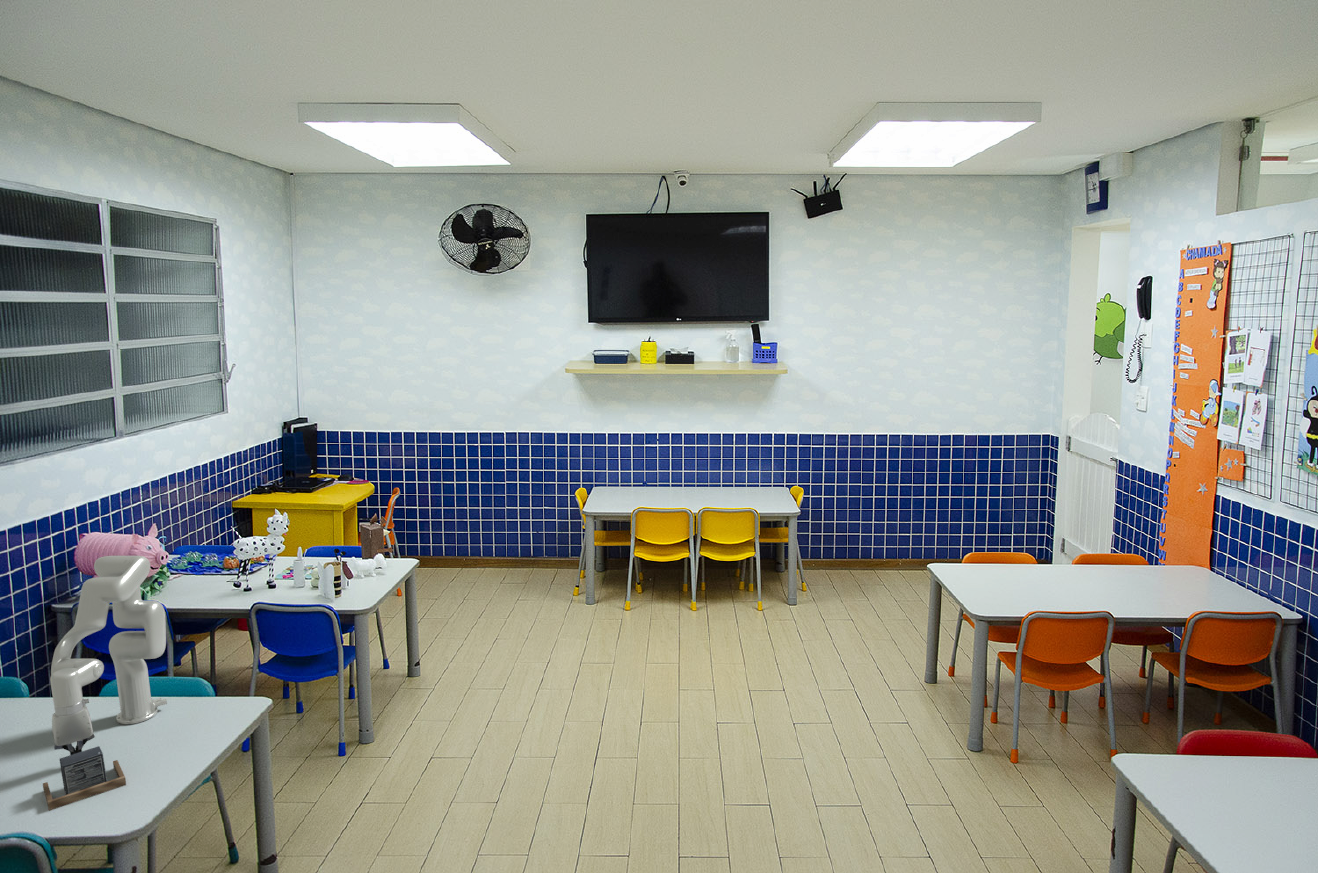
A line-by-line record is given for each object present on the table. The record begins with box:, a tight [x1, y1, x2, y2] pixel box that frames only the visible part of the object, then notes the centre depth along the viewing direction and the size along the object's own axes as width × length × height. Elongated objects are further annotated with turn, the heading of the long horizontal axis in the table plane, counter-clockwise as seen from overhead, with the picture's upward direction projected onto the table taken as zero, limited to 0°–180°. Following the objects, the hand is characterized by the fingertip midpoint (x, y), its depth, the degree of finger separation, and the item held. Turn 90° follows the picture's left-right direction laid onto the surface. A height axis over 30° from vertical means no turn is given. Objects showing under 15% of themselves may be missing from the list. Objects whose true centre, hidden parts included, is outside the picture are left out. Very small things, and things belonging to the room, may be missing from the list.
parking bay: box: [42, 759, 127, 811], centre depth 257 cm, size 19×13×2 cm
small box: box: [58, 745, 108, 795], centre depth 257 cm, size 11×6×10 cm, turn 132°
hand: (77, 760), depth 269 cm, fingers closed
